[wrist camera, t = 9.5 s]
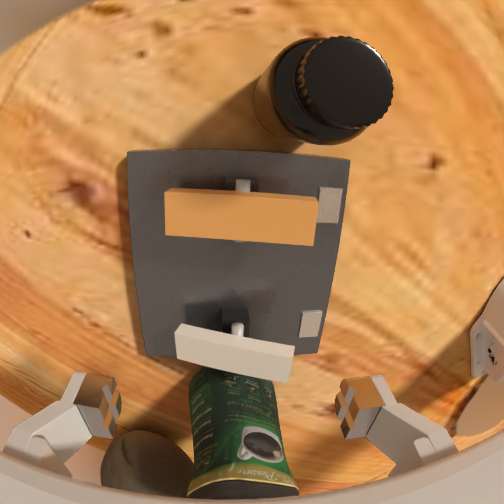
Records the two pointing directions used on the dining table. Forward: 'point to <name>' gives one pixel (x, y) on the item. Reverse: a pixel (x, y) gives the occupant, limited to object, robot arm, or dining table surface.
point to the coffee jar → (236, 439)
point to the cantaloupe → (147, 465)
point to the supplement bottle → (323, 90)
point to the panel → (233, 249)
